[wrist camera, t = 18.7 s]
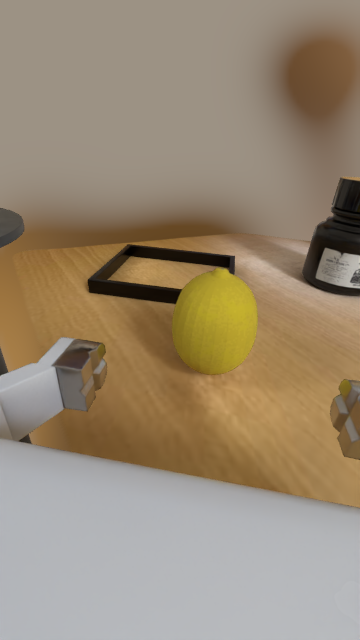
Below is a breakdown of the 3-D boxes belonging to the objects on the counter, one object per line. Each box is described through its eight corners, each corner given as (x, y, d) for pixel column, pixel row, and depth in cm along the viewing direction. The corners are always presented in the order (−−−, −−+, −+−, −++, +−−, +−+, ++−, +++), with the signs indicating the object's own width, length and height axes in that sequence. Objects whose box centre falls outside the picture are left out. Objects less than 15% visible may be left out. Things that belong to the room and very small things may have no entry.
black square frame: (89, 292, 31) (87, 279, 30) (128, 254, 42) (127, 244, 41) (231, 311, 29) (234, 298, 28) (233, 266, 40) (234, 255, 40)
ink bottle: (317, 297, 33) (356, 182, 27) (287, 268, 41) (312, 174, 35) (395, 298, 34) (450, 188, 28) (352, 270, 42) (388, 178, 36)
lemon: (230, 412, 18) (255, 297, 14) (155, 380, 20) (157, 272, 16) (254, 363, 22) (278, 265, 18) (190, 341, 24) (199, 247, 20)
